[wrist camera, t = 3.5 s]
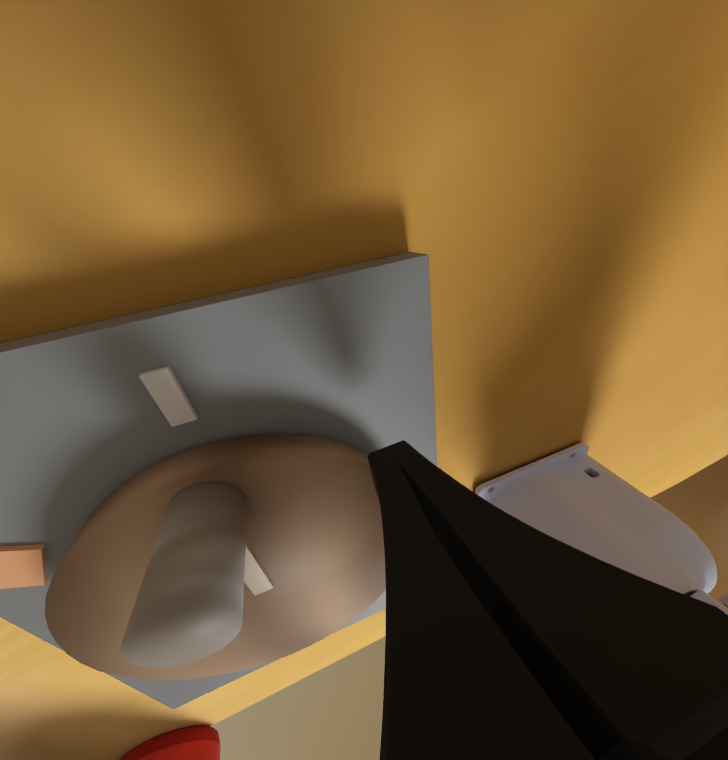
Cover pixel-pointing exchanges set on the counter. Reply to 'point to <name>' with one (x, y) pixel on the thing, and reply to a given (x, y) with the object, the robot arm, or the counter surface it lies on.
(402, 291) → the board
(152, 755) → the canned food
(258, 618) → the dial
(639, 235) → the counter surface
